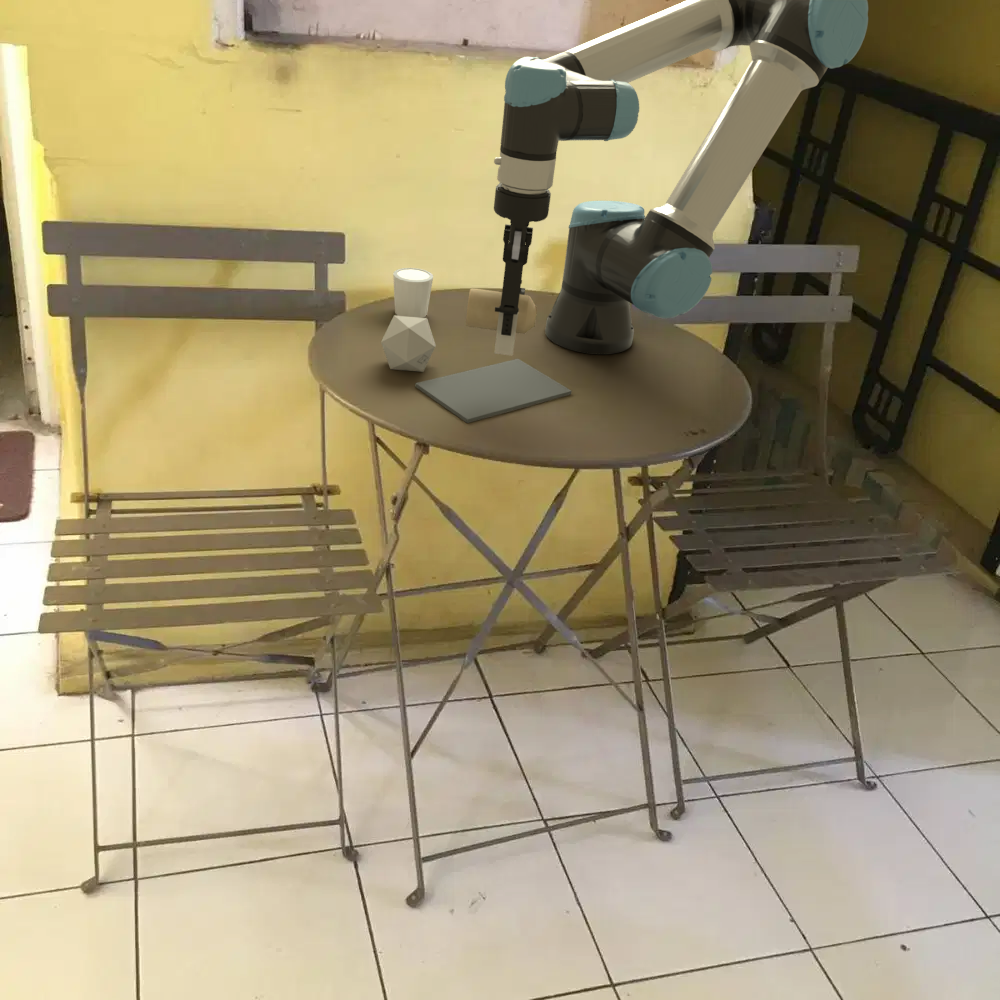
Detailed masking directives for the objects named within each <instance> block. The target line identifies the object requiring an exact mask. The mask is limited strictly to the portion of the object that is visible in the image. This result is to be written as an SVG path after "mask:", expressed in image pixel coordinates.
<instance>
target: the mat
mask: <svg viewBox="0 0 1000 1000" xmlns="http://www.w3.org/2000/svg"><path fill="white" fill-rule="evenodd" d="M415 388H417V389H418V390H419V391H421V392H422V393H423V394H425V395H426V396H427V397H428V398H431V399H432V400H433V401H435V402H436V403H438V404H439V405H441V406H442V407H443V408H445V409H446V410H448V411H449V412H451V413H452V414H454V416H456V417H458V418H459V419H461V420H463V421H464V422H465V423H467V424H469V423H473V422H475V421H480V420H485V419H487V418H490V417H496V416H498V415H501V414H502V415H503V414H505V413H509V412H512V411H516V410H519V409H523V408H527V407H531V406H534V405H538V404H542V403H544V402H548V401H553V400H556V399H559V398H563V397H566V396H570V395H572V392H573V390H571V389H569V388H568V387H566V386H565V385H563V384H561V383H560V382H558V381H556V380H555V379H553V378H551V377H550V376H548V375H546V374H545V373H543V372H541V371H540V370H538V369H536V368H535V367H533V366H531V365H529V364H528V363H526V362H524V361H523V360H521V359H520V358H515V359H511V360H507V361H502V362H499V363H494V364H490V365H486V366H481V367H477V368H473V369H469V370H464V371H461V372H457V373H452V374H448V375H447V374H446V375H444V376H439V377H435V378H431V379H428V380H423V381H419V382H418V381H417V382H416V383H415Z"/></svg>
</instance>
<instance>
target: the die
mask: <svg viewBox="0 0 1000 1000" xmlns="http://www.w3.org/2000/svg"><path fill="white" fill-rule="evenodd" d="M380 343H381V346H382V350H383V352H384V355H385V358H386V361H387V364H388V366H389V368H390V370H394V371H395V370H397V371H405V372H406V371H409V372H410V371H411V372H418V373H419V372H420V373H424V371H425V369H426V367H427V365H428V363H429V361H430V359H431V356H432V354H433V353H434V351H435V349H436V342H435V339H434V336H433V333H432V330H431V327H430V323H429V320H428V318H427V317H424V318H418V317H406V316H398V315H396V314H395V315H393V317H392V319H391V321H390V322H389V325H388V327H387V329H386V330H385V333H384V335H383V337H382V340H380Z"/></svg>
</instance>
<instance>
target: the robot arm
mask: <svg viewBox="0 0 1000 1000" xmlns="http://www.w3.org/2000/svg"><path fill="white" fill-rule="evenodd" d="M868 13H869V2H868V0H684V1H682V2H681V3H678V4H675V5H673V6H671V7H668V8H666V9H664V10H661V11H658V12H657V13H654V14H651V15H649V16H646V17H645V18H642V19H640V20H638V21H637V20H636V21H635V22H633V23H630V24H627V25H625V26H623V27H621V28H617V29H616V30H613V31H611V32H609V33H605V34H603V35H601V36H599V37H597V38H595V39H592V40H589V41H587V42H585V43H582V44H580V45H577V46H575V47H572V48H571V49H568V50H566V51H563V52H560V53H558V54H555V55H552V56H550V57H548V58H545V59H543V58H541V57H538V56H536V57H535V56H533V57H532V56H524V57H521V58H519V59H517V60H515V62H514V63H513V64H512V65H511V66H510V68H509V69H508V71H507V74H506V77H505V81H504V88H505V89H504V90H505V92H504V96H503V101H504V105H503V117H502V127H501V138H500V148H499V150H500V152H499V157H495V158H494V159H493V163H494V164H495V165H496V166H498V168H497V176H496V178H497V179H496V180H497V181H498V182H499V183H497V185H496V186H495V193H494V201H493V202H494V204H493V211H494V212H495V214H496V215H497V216H499V217H500V218H504V219H507V220H509V221H510V222H509V223H510V224H509V223H508V224H507V223H505V225H504V230H503V237H502V242H503V245H504V246H503V253H502V262H504V263H505V264H504V272H503V273H504V274H503V282H502V289H501V290H502V291H501V292H502V298H501V305H500V306H499V307H495V312H499V317H498V325H497V330H496V334H495V335H496V337H495V344H494V353H493V354H495V355H496V354H497V355H505V356H514V350H515V341H516V336H517V335H516V334H517V333H516V327H517V319H518V312H519V308H518V303H519V295H520V294H521V295H526V288H525V287H521V285H522V283H523V280H522V278H523V272H524V271H523V270H524V266H525V265H527V263H528V259H529V249H530V246H531V245H532V242H533V241H532V240H533V232H534V227H530V223H532V222H534V223H537V222H542V221H544V220H546V218H548V216H549V211H550V205H551V204H550V203H551V195H552V193H551V191H550V189H551V188H552V187H553V183H554V175H555V169H556V161H557V151H558V145H559V141H561V142H562V141H563V142H565V141H604V142H608V141H612V140H620V139H624V138H626V137H628V136H629V135H631V133H632V132H633V131H634V130H635V128H636V125H637V123H638V121H639V113H640V99H639V96H638V93H637V92H636V90H635V88H634V87H633V86H632V85H631V84H630V83H631V82H634V81H636V80H638V79H641V78H642V77H645V76H647V75H650V74H652V73H654V72H657V71H659V70H662V69H664V68H666V67H668V66H670V65H671V66H672V65H673V64H676V63H678V62H680V61H682V60H686V58H689V57H691V56H694V55H696V54H699V53H700V52H704V51H705V50H709V51H713V52H720V51H723V50H726V49H728V48H730V47H736V46H749V50H750V55H751V61H750V63H749V65H748V66H747V68H746V69H745V71H744V73H743V75H742V76H741V78H740V80H739V81H738V83H737V85H736V87H735V88H734V90H733V92H732V93H731V95H730V96H729V98H728V99H727V101H726V103H725V104H724V106H723V107H722V109H721V111H720V112H719V114H718V115H717V118H716V119H715V121H714V123H713V124H712V126H711V128H710V129H709V131H708V132H707V134H706V136H705V138H704V139H703V140H702V142H701V144H700V146H699V147H698V149H697V150H696V153H695V154H694V156H693V157H692V159H691V160H690V162H689V163H688V165H687V167H686V168H685V170H684V172H683V174H682V175H681V177H680V179H679V180H678V182H677V183H676V186H675V187H674V189H673V190H672V191H671V193H670V195H669V196H668V199H666V202H665V203H664V204H663V205H660V206H657V207H654V208H650V209H649V211H648V212H647V214H646V215H645V209H644V208H645V207H643V206H642V205H639V204H637V203H636V204H635V203H633V202H632V203H631V202H626V201H620V200H619V201H618V200H617V201H616V200H589V201H583V202H581V203H578V204H577V205H576V206H574V208H573V210H572V213H571V218H570V222H569V225H568V235H567V236H568V238H567V245H566V250H565V257H564V258H565V260H564V267H563V273H562V274H563V275H562V282H561V289H560V291H559V294H558V296H557V298H556V299H555V302H554V304H553V307H552V309H551V311H550V312H549V314H548V316H547V318H546V323H545V329H544V330H545V332H544V333H545V336H546V337H547V339H549V340H550V341H551V342H553V344H555V345H557V346H560V347H562V348H564V349H567V350H570V351H574V352H578V353H583V354H590V355H613V354H618V353H622V352H624V351H627V350H629V349H630V348H631V346H632V345H633V341H634V340H633V339H634V335H635V334H634V333H635V329H634V325H633V323H632V308H631V304H632V305H633V306H634V307H635V308H636V309H637V310H640V311H641V312H643V313H647V314H649V315H652V316H654V317H656V318H659V319H673V318H676V317H677V316H682V315H684V314H686V313H688V312H689V311H691V310H692V309H693V308H695V306H697V305H698V304H699V302H700V301H702V299H703V298H704V296H705V295H706V293H707V292H708V290H709V288H710V285H711V282H712V280H713V279H712V277H711V275H712V274H713V265H712V262H711V260H710V257H711V256H712V254H713V253H714V251H715V248H716V247H715V243H714V238H713V236H714V235H713V233H714V232H715V230H716V229H717V227H718V225H719V224H720V222H721V221H722V220H723V218H724V216H725V214H726V213H727V212H728V209H729V208H730V206H731V205H732V203H733V201H734V200H735V198H736V196H737V194H738V193H739V192H740V190H741V188H742V187H743V185H744V184H745V182H746V180H747V179H748V177H749V175H750V174H751V172H752V171H753V169H754V167H755V166H756V164H757V163H758V161H759V159H760V158H761V156H762V155H763V153H764V151H765V150H766V149H767V147H768V145H769V144H770V142H771V140H772V139H773V137H774V135H775V134H776V132H777V130H778V129H779V127H780V126H781V124H782V123H783V121H784V120H785V117H786V116H787V114H788V113H789V111H790V109H791V108H792V107H793V104H794V103H795V101H796V100H797V98H798V97H799V95H800V93H801V92H802V91H804V90H806V89H811V88H814V87H816V86H818V84H819V82H820V81H821V80H822V78H823V76H824V75H825V73H826V72H827V70H828V68H829V69H836V68H840V67H842V66H844V65H847V64H848V63H849V62H851V61H852V60H853V58H855V56H856V55H857V53H858V52H859V50H860V49H861V47H862V44H863V41H864V40H865V36H866V33H867V30H868V24H869V16H868Z"/></svg>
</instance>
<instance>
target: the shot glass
mask: <svg viewBox="0 0 1000 1000" xmlns="http://www.w3.org/2000/svg"><path fill="white" fill-rule="evenodd" d="M392 275H393V278H392V279H393V297H394V313H395V315H396V316H406V317H418V318H426V317H427V316H428V311H429V306H430V300H431V299H430V298H431V292H432V287H433V279H434V274H433V273H432V272H430V271H428V270H426V269H422V268H417V267H403V268H399V269H396V270H394V271H393V274H392ZM426 315H427V316H426Z"/></svg>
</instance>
